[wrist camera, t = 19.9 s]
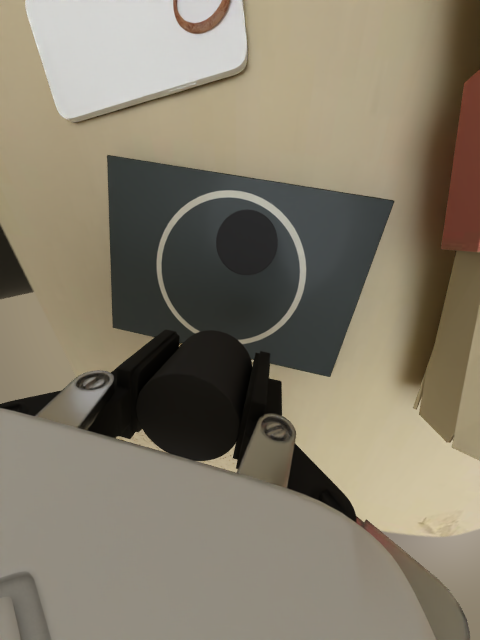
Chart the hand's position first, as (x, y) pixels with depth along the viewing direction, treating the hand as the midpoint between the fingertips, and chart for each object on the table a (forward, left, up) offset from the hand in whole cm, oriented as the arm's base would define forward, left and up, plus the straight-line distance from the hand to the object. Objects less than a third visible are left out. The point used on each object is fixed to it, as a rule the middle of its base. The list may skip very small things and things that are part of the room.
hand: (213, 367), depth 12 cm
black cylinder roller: (0, 0, 0) cm, 0 cm away
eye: (0, +6, -9) cm, 11 cm away
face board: (-2, +3, -10) cm, 11 cm away
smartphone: (-11, +18, -11) cm, 23 cm away
